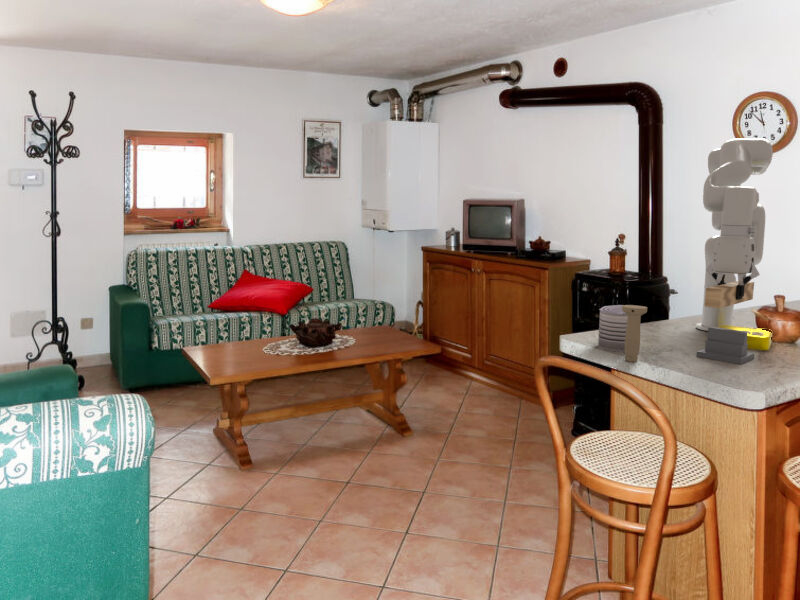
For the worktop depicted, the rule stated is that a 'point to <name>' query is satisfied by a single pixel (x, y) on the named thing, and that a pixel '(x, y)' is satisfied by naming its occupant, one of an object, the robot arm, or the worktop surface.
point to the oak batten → (727, 295)
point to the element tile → (754, 337)
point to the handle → (633, 331)
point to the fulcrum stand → (726, 346)
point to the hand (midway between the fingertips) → (729, 297)
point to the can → (612, 328)
